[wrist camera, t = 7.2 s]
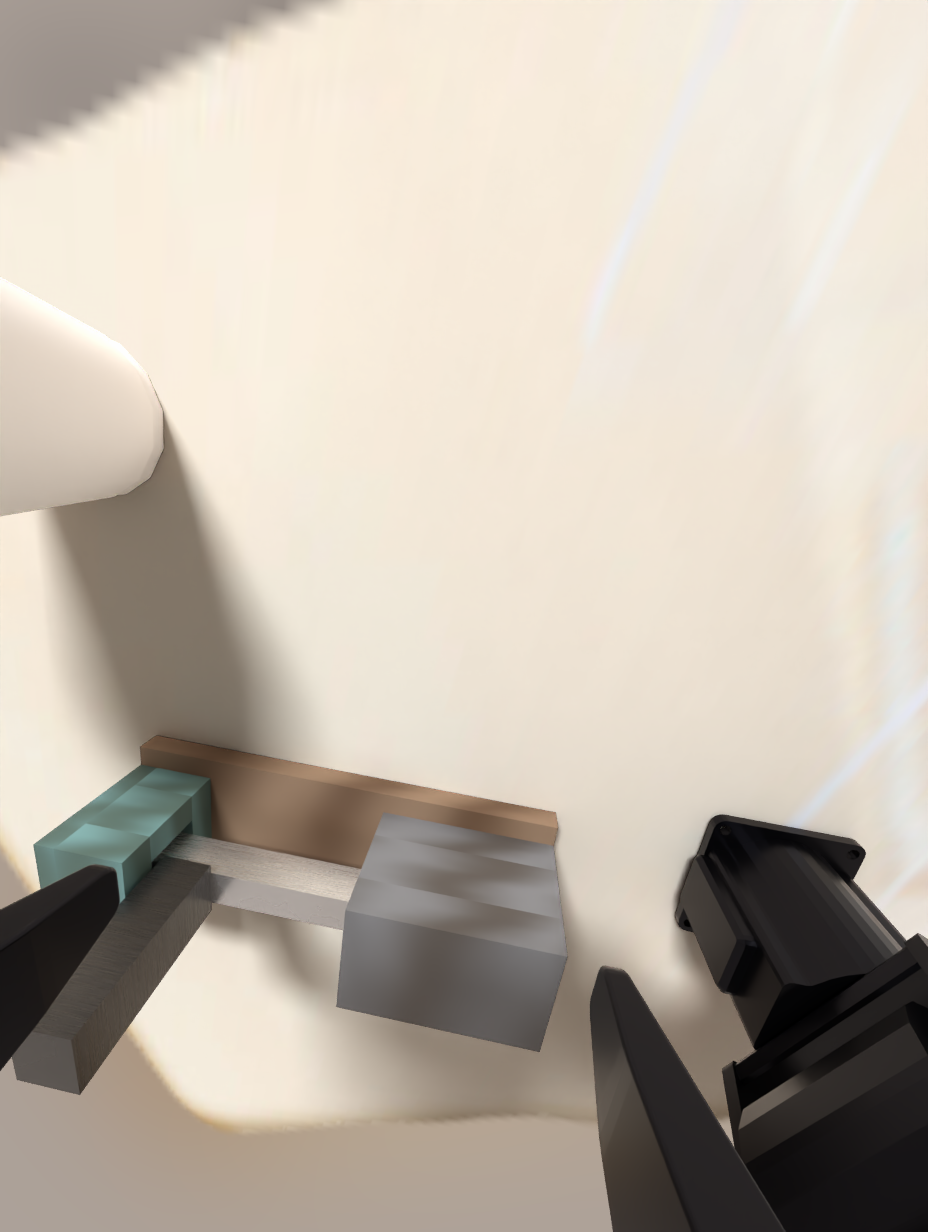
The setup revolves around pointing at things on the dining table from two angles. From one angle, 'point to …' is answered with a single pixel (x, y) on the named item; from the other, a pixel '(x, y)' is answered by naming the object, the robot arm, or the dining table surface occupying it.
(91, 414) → the foam cup
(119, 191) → the dining table surface
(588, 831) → the dining table surface
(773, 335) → the dining table surface
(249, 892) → the angled grey metal bar
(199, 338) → the dining table surface
